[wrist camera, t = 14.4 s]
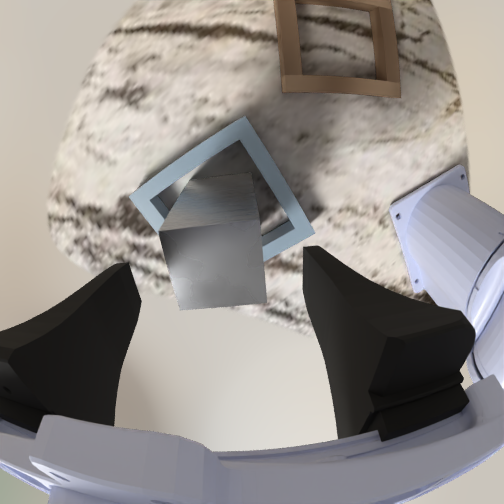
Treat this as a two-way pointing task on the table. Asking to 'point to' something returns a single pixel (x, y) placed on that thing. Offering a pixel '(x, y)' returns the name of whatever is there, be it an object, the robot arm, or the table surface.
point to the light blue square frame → (246, 134)
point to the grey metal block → (215, 244)
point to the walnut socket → (384, 85)
